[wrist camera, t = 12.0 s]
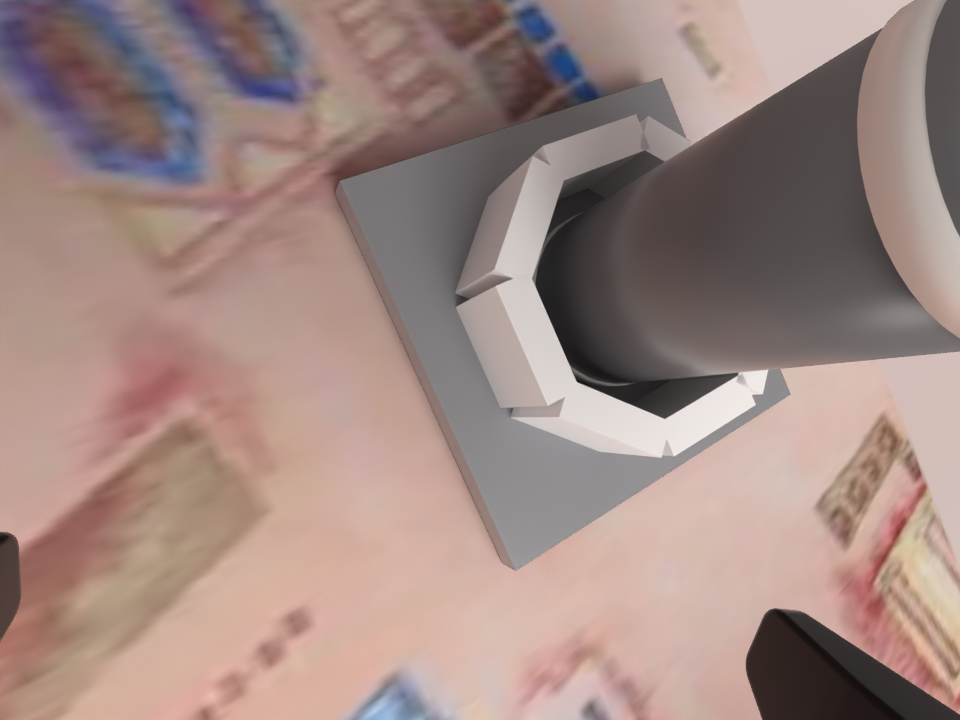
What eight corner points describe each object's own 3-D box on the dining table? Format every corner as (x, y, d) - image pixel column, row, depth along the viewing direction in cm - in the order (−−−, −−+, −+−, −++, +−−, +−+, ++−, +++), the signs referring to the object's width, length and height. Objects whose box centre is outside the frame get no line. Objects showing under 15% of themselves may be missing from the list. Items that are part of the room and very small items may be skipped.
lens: (667, 389, 20) (1213, 350, 9) (516, 388, 18) (967, 337, 7) (660, 228, 20) (1169, -7, 9) (512, 210, 18) (927, -114, 7)
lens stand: (768, 395, 23) (870, 391, 19) (502, 563, 18) (567, 600, 15) (644, 92, 22) (725, 25, 18) (334, 193, 18) (359, 133, 14)
